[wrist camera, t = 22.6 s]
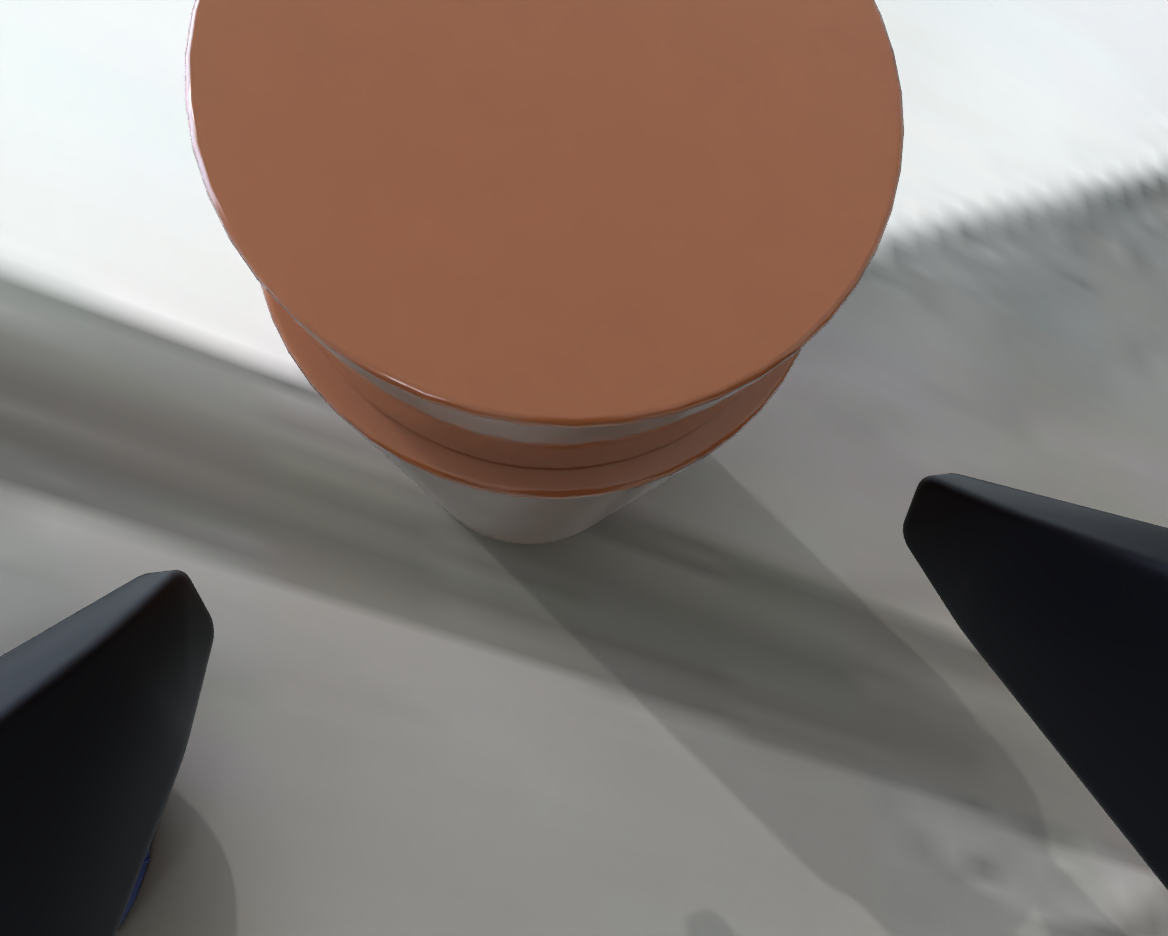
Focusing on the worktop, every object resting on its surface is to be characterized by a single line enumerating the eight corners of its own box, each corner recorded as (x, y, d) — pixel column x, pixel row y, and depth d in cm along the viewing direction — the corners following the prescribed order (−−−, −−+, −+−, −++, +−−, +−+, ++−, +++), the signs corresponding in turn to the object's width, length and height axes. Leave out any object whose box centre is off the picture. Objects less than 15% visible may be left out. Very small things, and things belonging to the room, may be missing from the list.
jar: (671, 370, 19) (1014, -72, 6) (596, 578, 17) (821, 595, 5) (467, 289, 18) (353, -360, 6) (376, 494, 17) (-36, 266, 4)
